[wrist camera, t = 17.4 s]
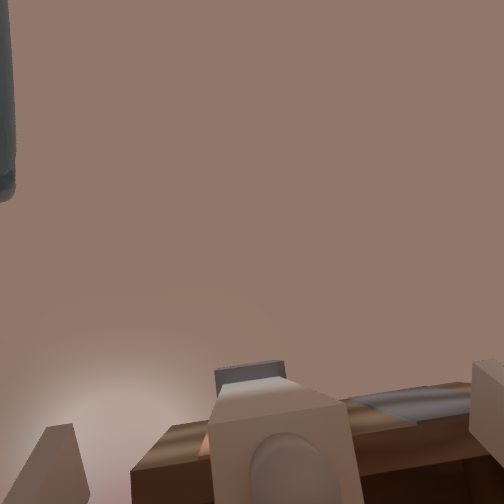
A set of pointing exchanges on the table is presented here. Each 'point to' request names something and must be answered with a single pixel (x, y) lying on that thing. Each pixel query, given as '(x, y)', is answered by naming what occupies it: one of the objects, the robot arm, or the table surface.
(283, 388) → the bar
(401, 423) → the walnut shelf
